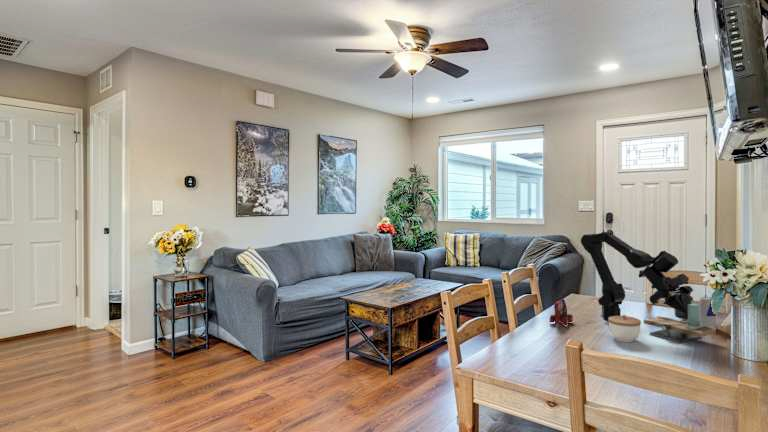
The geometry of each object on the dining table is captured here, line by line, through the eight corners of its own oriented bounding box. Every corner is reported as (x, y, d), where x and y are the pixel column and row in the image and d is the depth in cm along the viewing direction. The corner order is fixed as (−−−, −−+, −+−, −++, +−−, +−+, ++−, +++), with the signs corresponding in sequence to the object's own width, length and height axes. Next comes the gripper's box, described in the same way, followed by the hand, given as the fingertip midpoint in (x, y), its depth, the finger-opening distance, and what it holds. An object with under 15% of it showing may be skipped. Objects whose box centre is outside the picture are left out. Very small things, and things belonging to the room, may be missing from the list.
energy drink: (719, 330, 169) (719, 300, 169) (703, 329, 170) (703, 299, 170) (711, 326, 174) (711, 297, 174) (696, 325, 175) (696, 296, 175)
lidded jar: (643, 345, 155) (643, 319, 154) (610, 342, 158) (610, 317, 158) (637, 336, 165) (637, 312, 164) (606, 334, 168) (606, 310, 168)
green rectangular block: (683, 328, 158) (683, 305, 158) (693, 325, 160) (693, 303, 160) (693, 330, 155) (693, 307, 154) (703, 328, 157) (703, 305, 157)
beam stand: (649, 334, 166) (649, 321, 166) (672, 329, 172) (672, 316, 171) (678, 343, 156) (678, 328, 156) (702, 337, 162) (702, 323, 161)
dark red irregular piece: (574, 321, 186) (574, 298, 186) (564, 328, 177) (564, 304, 176) (558, 319, 191) (557, 296, 190) (548, 326, 181) (547, 301, 181)
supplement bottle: (697, 318, 186) (697, 291, 185) (681, 318, 186) (681, 291, 185) (686, 314, 192) (686, 287, 192) (671, 314, 193) (670, 288, 192)
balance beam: (643, 323, 170) (643, 318, 170) (658, 320, 174) (658, 315, 174) (700, 336, 151) (700, 331, 151) (715, 332, 155) (715, 327, 155)
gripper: (656, 269, 160) (688, 304, 150) (687, 265, 167) (719, 298, 158) (637, 286, 167) (665, 321, 158) (667, 281, 175) (696, 314, 165)
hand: (687, 313), depth 159 cm, fingers closed, pressing on green rectangular block
